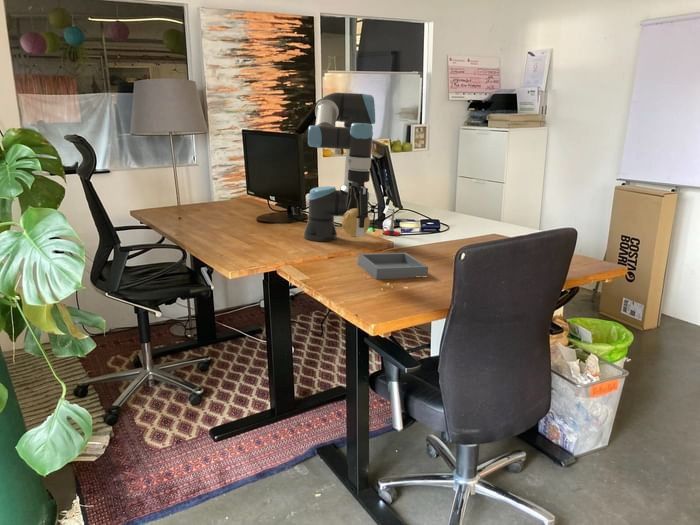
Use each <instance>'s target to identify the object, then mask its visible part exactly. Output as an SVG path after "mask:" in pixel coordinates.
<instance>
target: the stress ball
mask: <svg viewBox="0 0 700 525" xmlns="http://www.w3.org/2000/svg"><path fill="white" fill-rule="evenodd" d="M357 216H358V209H357V208H354V209H349V210H348V211H347V212H346V213H345V214H344V215H343V216H342V217H341V218H342V219H341V226H342V229H343V231H344V232H345V234H347V235H349V236H350V237H352V238H357V237H356V228H357V218H356V217H357ZM370 222H371V221H370V217H369V216H368V217H366V218H365V230H364V234H365V233H366V232H368V230H369V228H370V226H371V225H370V224H371V223H370Z"/></svg>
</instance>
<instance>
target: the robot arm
mask: <svg viewBox="0 0 700 525" xmlns="http://www.w3.org/2000/svg"><path fill="white" fill-rule="evenodd" d="M375 105H376V104H375V99H374V96H373V95H372V94H367V93H355V92H354V93H353V92H351V93H350V92H349V93H348V92H332V93H329V94H327V95H324V96H323V97H321V99H319V101H317V103H316V106H315V108H314V113H315V114H314V115H315V118H316V119H315V124H314V125H309V126H308V129H307V130H308V131H307V145H308V146H309V147H311V148H317V149H319V148H320V149H338V150H339V149H340V150H345V162H344V163H345V164H344V166H345V167H344V168H345V169H344V177H343V178H344V181H343V182H344V183H343V184H342V185H341V186H340V189H339V190H337V188H336V186H330V185H329V186H327V185H326V186H325V185H324V186H319V187H318V186H317V187H313V188H311V189H310V190H309V197H308V216H307V217H308V220H307V223H306V226H305V228H304V231H303V238H304V239H306V240H308V241H314V242H333V241H336V240H337V239H338V233H337V230H336V225H335V221H334V220H335V217H343V215H344V214H345V213H346V212H347V211H348V210H349V209H354V208H357V209H358V216H357V217H356V218H357V228H356V237H355V238H359V237H360V238H362V237H365V233H364V230H365V218H366V217H369V206H368V205H369V200H370V193H369V188H367V187H366V186H365V183H368V182H370V177H371V176H370V175H371V172H370V169H371V165H372V163H371V162H372V148H373V147H372V144H373V136H374V131H373V129H374V128H373V126H374V124H376V108H375V107H376V106H375ZM336 122H338V123H339V122H340V123H343V126H336V124H337V123H336Z"/></svg>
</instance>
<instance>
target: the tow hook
mask: <svg viewBox="0 0 700 525" xmlns="http://www.w3.org/2000/svg"><path fill="white" fill-rule="evenodd" d="M390 220H391V221H390V226H389V230H383V234H384V235H385V236H390V237H391V236H392V237H398V236H400V235H401V231H396V230H394V229H395V228H394V227H395V225H394V221H395V208H393V209H392V212H391V218H390Z"/></svg>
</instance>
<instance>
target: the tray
mask: <svg viewBox="0 0 700 525" xmlns="http://www.w3.org/2000/svg"><path fill="white" fill-rule="evenodd" d="M357 257H358V258H357V265H358V266H360V267H361V268H362V270H364V271H365V272H366V273H368V274H369V275H370V276H371V277H372V278H374V279H375V280H391V279H392V280H394V279H395V280H397V279H398V278H399V279H408V278H407V277H416V276H427V277H428V273H429V266H428V265H426V264H424V263H423V262H422V261H420V260H418V259H417V258H415V257H413V256H412V255H411V254H409V253H407V252H388V253H386V252H383V253H381V252H379V253H358V255H357Z"/></svg>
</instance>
